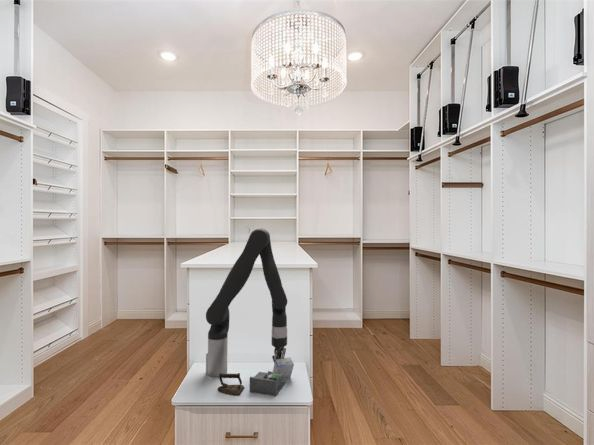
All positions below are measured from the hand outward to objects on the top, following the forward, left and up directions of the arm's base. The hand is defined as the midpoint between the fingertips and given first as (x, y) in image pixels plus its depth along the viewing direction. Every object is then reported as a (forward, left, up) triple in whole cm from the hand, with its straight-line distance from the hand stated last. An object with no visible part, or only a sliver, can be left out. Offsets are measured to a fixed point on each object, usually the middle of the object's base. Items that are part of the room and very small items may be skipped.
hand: (279, 371), depth 160 cm
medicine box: (+2, -3, -1) cm, 3 cm away
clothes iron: (-14, -22, -2) cm, 26 cm away
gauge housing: (0, -15, -2) cm, 15 cm away
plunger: (+2, -13, 0) cm, 13 cm away
